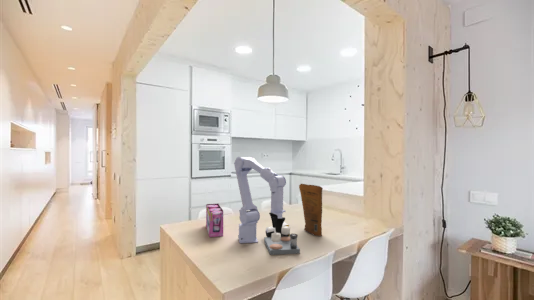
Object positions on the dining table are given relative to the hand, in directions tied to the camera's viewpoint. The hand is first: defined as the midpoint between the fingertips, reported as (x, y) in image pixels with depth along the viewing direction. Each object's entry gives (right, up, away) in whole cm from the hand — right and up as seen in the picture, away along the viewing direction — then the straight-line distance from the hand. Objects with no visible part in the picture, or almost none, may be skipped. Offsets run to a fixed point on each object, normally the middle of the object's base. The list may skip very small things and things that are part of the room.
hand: (276, 229), depth 124 cm
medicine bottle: (+7, -6, +20) cm, 22 cm away
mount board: (+2, -10, +5) cm, 11 cm away
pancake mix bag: (+21, -10, +29) cm, 37 cm away
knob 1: (0, -5, 0) cm, 5 cm away
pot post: (+8, -8, -1) cm, 11 cm away
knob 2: (+5, -5, +11) cm, 13 cm away
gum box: (-36, -10, +30) cm, 47 cm away
